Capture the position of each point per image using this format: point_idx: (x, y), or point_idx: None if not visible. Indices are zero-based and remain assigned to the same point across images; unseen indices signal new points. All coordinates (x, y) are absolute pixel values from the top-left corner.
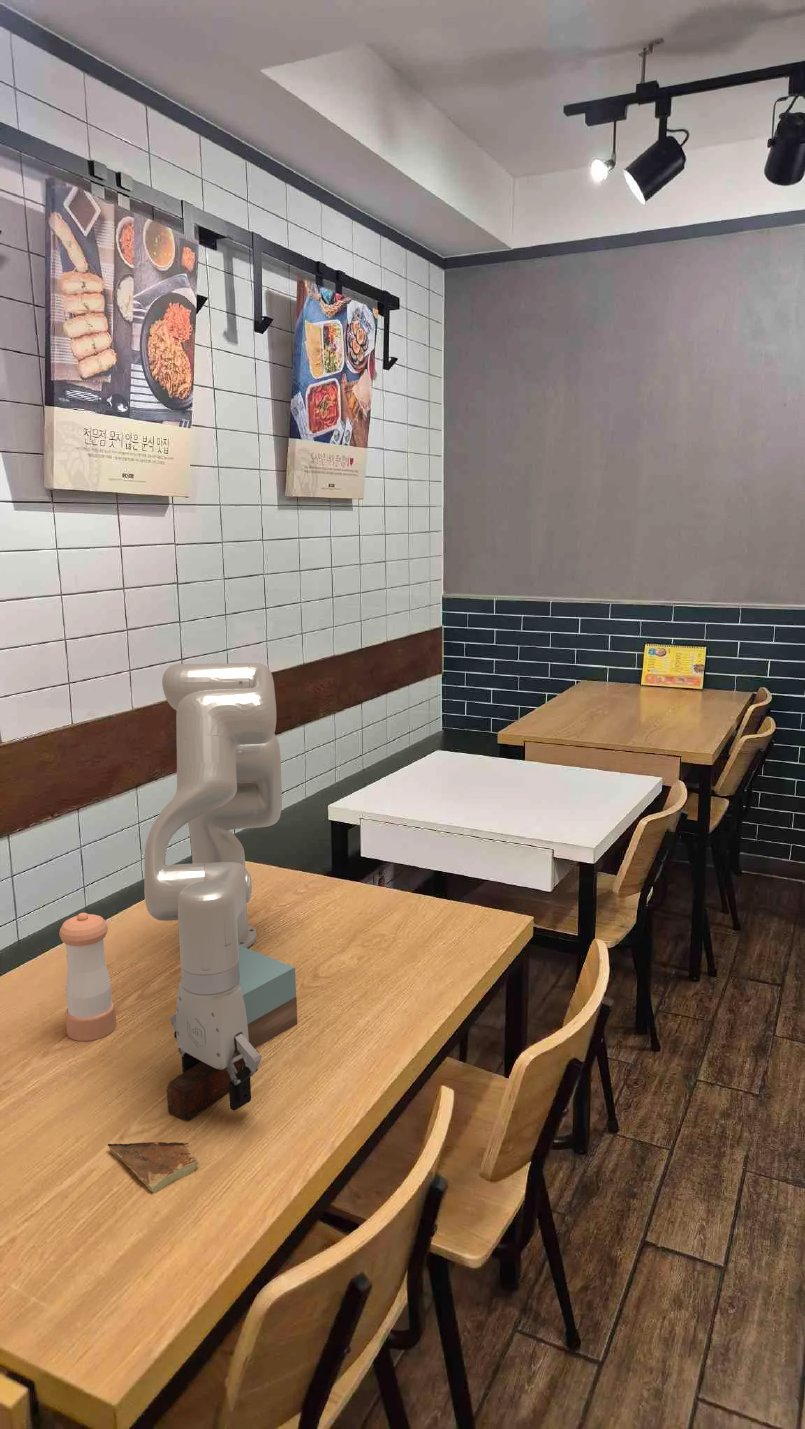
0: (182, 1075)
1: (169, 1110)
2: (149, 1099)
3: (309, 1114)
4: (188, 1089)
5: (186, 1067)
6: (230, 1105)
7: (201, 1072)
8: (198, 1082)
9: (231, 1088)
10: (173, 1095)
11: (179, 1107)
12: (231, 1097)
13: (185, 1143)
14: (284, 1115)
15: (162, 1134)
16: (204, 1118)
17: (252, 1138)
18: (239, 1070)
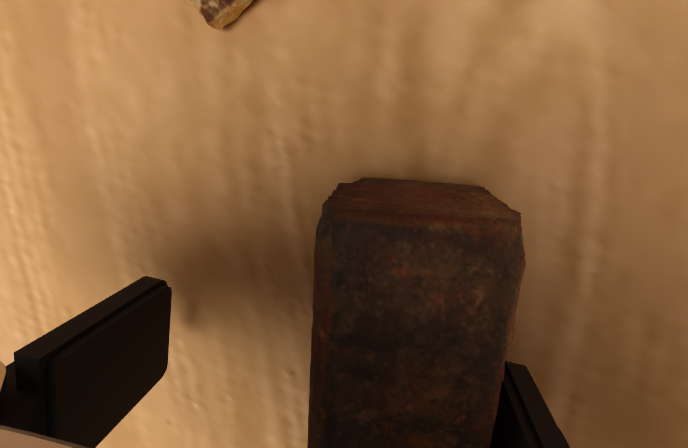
0: (477, 347)
1: (473, 186)
2: (647, 228)
3: None
4: (325, 236)
5: (522, 434)
6: (149, 286)
7: (378, 419)
8: (324, 329)
9: (44, 335)
10: (448, 202)
11: (400, 188)
12: (99, 305)
13: (216, 11)
14: None
15: (397, 44)
16: (306, 229)
17: (70, 214)
18: None
